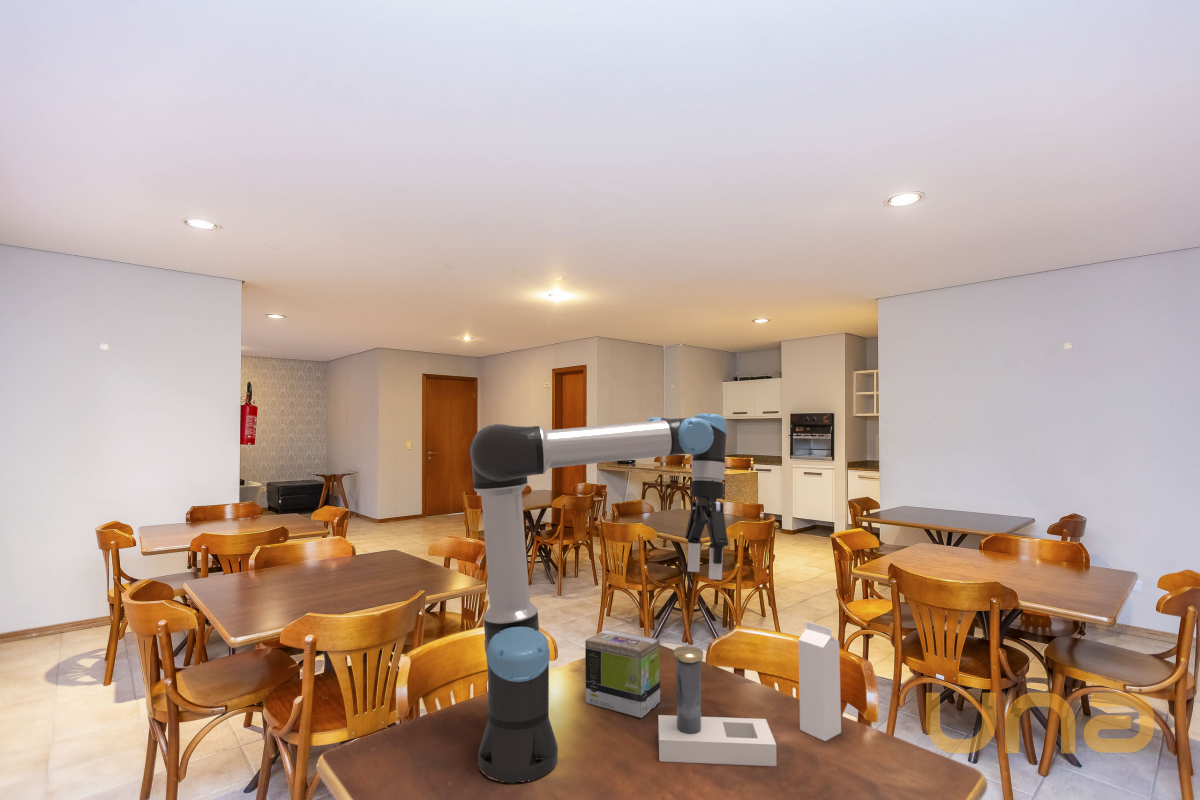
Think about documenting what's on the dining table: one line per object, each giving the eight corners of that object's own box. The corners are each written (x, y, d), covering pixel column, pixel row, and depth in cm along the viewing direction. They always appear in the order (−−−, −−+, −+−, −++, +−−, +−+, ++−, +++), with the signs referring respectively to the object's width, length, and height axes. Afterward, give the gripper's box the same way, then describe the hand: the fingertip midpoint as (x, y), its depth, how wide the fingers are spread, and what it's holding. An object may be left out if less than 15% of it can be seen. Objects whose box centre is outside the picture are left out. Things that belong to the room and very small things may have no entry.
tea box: (661, 702, 139) (661, 638, 140) (640, 720, 131) (640, 651, 131) (606, 687, 147) (606, 626, 148) (583, 703, 139) (583, 638, 139)
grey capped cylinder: (675, 735, 116) (674, 657, 117) (673, 719, 122) (672, 645, 123) (705, 735, 116) (704, 658, 116) (702, 720, 122) (701, 646, 122)
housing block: (659, 761, 114) (659, 739, 115) (658, 734, 124) (658, 715, 125) (776, 766, 113) (776, 744, 113) (766, 738, 123) (765, 719, 123)
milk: (825, 742, 122) (823, 632, 122) (799, 730, 126) (797, 624, 127) (841, 732, 125) (839, 626, 126) (816, 721, 130) (814, 618, 131)
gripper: (746, 480, 127) (742, 583, 124) (703, 483, 151) (699, 569, 148) (712, 477, 126) (708, 581, 122) (675, 480, 150) (670, 567, 146)
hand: (703, 575), depth 135 cm, fingers open, 13 cm apart
